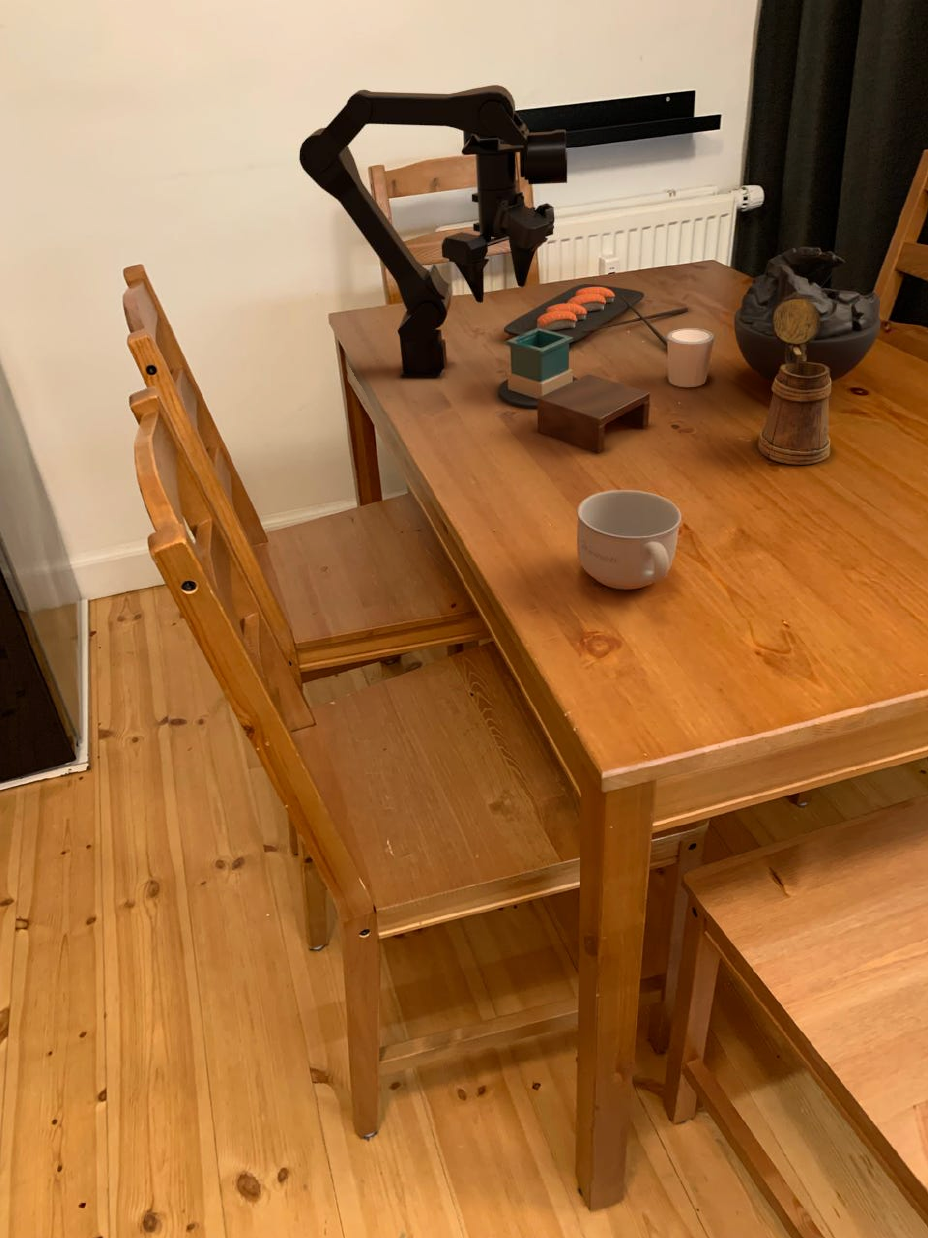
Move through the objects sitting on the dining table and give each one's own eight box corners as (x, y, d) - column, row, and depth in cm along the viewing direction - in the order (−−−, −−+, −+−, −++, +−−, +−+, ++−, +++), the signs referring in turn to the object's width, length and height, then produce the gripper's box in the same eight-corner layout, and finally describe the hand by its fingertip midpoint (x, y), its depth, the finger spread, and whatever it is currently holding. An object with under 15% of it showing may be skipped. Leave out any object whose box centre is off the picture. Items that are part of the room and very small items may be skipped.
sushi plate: (581, 292, 184) (581, 271, 182) (729, 314, 169) (732, 292, 167) (496, 340, 165) (495, 318, 163) (655, 370, 150) (656, 347, 148)
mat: (492, 408, 143) (492, 404, 142) (504, 374, 153) (504, 371, 153) (580, 409, 140) (580, 405, 140) (586, 375, 151) (586, 371, 150)
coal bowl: (827, 352, 152) (848, 228, 141) (894, 400, 136) (923, 265, 125) (707, 367, 150) (718, 243, 139) (761, 418, 134) (779, 283, 123)
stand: (537, 431, 135) (537, 398, 132) (587, 406, 141) (588, 373, 138) (598, 453, 129) (599, 419, 126) (648, 425, 135) (650, 392, 132)
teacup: (568, 552, 109) (569, 490, 104) (662, 543, 110) (666, 481, 105) (592, 624, 98) (594, 558, 93) (696, 613, 98) (703, 547, 94)
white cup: (710, 389, 143) (714, 343, 139) (663, 388, 145) (666, 343, 141) (709, 371, 149) (714, 327, 145) (665, 370, 150) (667, 326, 146)
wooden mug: (809, 419, 133) (830, 288, 123) (837, 463, 122) (863, 324, 112) (744, 422, 134) (760, 292, 123) (767, 467, 123) (786, 328, 112)
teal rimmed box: (506, 340, 142) (541, 351, 138) (537, 327, 146) (573, 337, 142) (507, 389, 147) (542, 400, 142) (538, 375, 150) (572, 385, 146)
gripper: (491, 206, 129) (496, 321, 138) (581, 178, 139) (580, 287, 148) (435, 196, 136) (443, 306, 145) (524, 170, 146) (527, 275, 155)
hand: (500, 294), depth 148 cm, fingers open, 9 cm apart
